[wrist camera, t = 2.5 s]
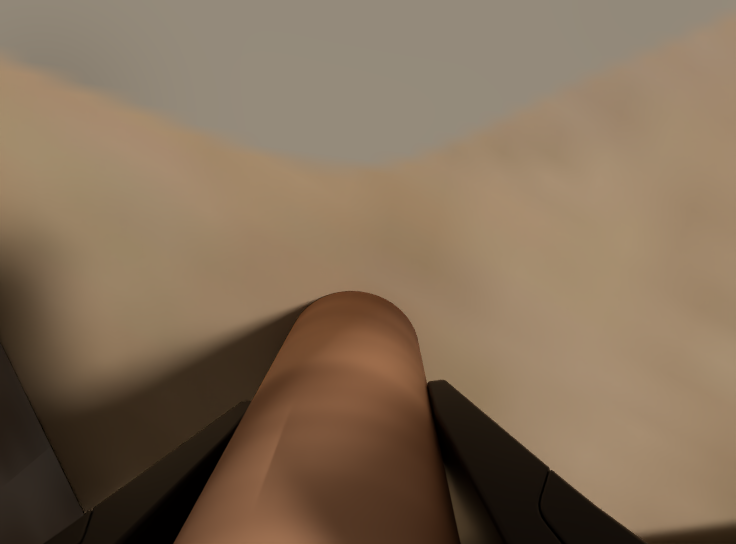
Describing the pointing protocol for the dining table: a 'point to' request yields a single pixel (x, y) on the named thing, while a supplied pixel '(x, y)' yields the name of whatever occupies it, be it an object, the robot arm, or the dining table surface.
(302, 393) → the peg
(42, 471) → the socket block
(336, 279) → the dining table surface
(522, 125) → the dining table surface
